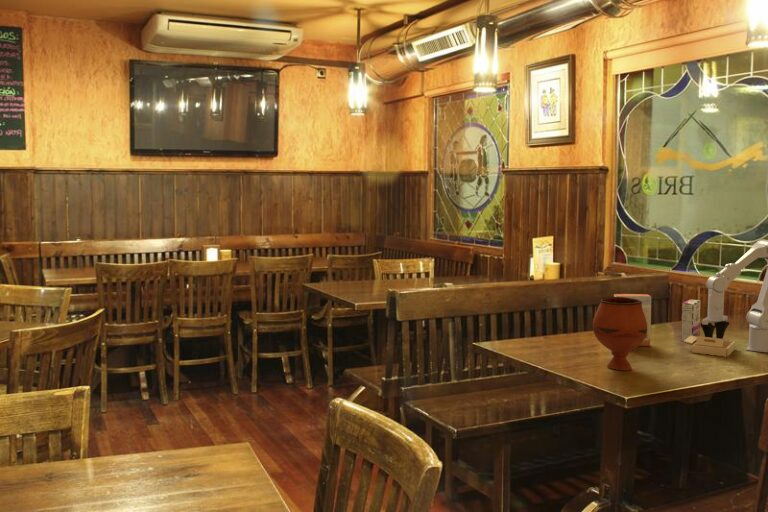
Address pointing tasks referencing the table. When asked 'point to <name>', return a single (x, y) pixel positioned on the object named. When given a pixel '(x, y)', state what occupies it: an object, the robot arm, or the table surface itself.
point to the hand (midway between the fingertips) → (714, 340)
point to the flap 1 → (690, 339)
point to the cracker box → (646, 309)
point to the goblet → (620, 328)
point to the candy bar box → (690, 319)
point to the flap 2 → (709, 341)
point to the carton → (715, 349)
